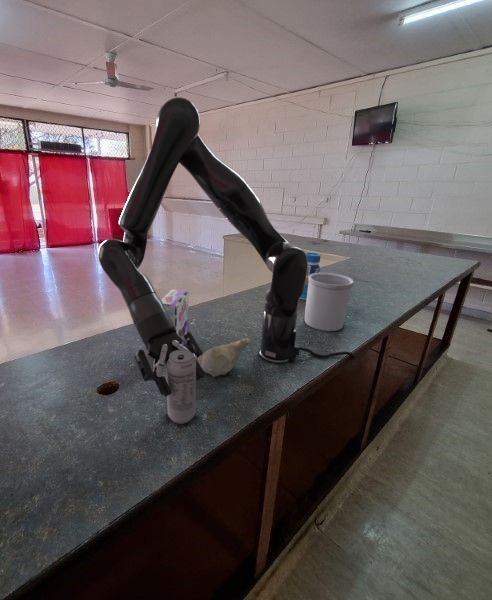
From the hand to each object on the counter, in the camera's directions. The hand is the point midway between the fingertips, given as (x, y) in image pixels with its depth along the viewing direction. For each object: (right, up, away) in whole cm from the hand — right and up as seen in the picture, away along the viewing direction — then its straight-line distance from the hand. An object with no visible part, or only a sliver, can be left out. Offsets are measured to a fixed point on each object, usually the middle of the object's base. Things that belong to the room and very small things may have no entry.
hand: (185, 386), depth 65 cm
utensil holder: (+48, +9, +52) cm, 71 cm away
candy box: (-6, +3, +33) cm, 33 cm away
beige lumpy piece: (+9, -1, +22) cm, 24 cm away
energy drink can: (-1, -8, +4) cm, 8 cm away
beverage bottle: (+49, +19, +78) cm, 94 cm away
